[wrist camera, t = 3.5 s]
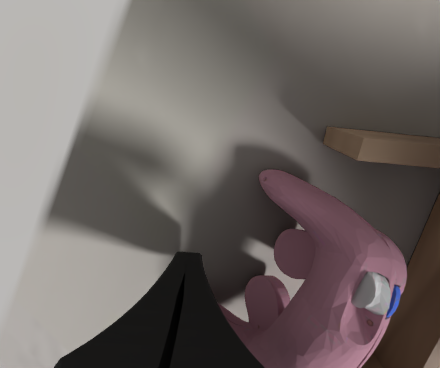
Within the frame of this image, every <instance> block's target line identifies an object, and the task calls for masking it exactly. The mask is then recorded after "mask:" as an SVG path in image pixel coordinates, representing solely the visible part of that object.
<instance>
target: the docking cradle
mask: <svg viewBox="0 0 440 368" xmlns="http://www.w3.org/2000/svg"><path fill="white" fill-rule="evenodd" d="M323 144H324V145H326V146H328V147H330V148H332V149H334V150H336V151H339V152H341V153H343V154H345V155H347V156H349V157H351V158H353V159H355V160H357V161H368V162H378V163H389V164H399V165H410V166H420V167H431V168H440V138H435V137H425V136H415V135H405V134H396V133H386V132H376V131H366V130H356V129H346V128H336V127H327V129H326V133H325V137H324V141H323ZM439 367H440V193H439V195H438V198H437V200H436V202H435V205H434V207H433V209H432V211H431V214H430V216H429V218H428V221H427V223H426V225H425V228H424V230H423V232H422V235H421V237H420V239H419V241H418V244H417V246H416V248H415V251H414V253H413V255H412V258H411V260H410V262H409V265H408V267H407V280H406V285H405V288H404V291H403V293H402V294H401V296H400V301H399V304H398V307H397V309H396V311H395V312H394V313H393V314H392V315H391V318H390V321H389V324H388V326H387V329H386V331H385V333H384V335H383V337H382V339H381V340H380V342H379V344H378V346H377V347H376V349H375V350H374V352H373V353H372V355H371V356H370V357H369V359H368V360H367V361H366V362H365V363H364V365H363V366H362V367H361V368H439Z"/></svg>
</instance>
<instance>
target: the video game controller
mask: <svg viewBox="0 0 440 368" xmlns="http://www.w3.org/2000/svg"><path fill="white" fill-rule="evenodd" d="M259 181H260V184H261V186H262V188H263V190H264V191H265V192H266V194H267V195H268V196H269V198H270V199H271V200H272V201H273V202H275V203H276V204H277V205H278V206H279V207H281V208H282V209H283V210H284V211H285V212H287V213H288V214H289V215H290V216H291V217H293V218H294V219H295V220H296V221H297V222H298V223H299V224H300V225H301V226H302V227H303V228H304V229H305V230H299V229H287V230H285V231H283V232H282V233H281V234H280V235H279V237H278V238H277V240H276V243H275V247H274V258H275V261H276V264H277V266H278V267H279V269H280V270H281V271H282V272H283V273H284V274H286V275H287V276H289V277H291V278H295V279H305V281H304V283H303V284H302V286H301V287H300V288H299V290H298V291H297V293H296V294H295V296H294V297H293V298H292V300H291V301H290V297H289V294H288V291H287V289H286V287H285V286H284V284H283V283H282V282H281V281H280V280H279V279H278V278H276V277H274V276H264V275H261V276H255V277H253V278H252V279H251V280H250V281H249V282H248V284H247V286H246V289H245V302H246V307H247V311H248V317H249V322H245V321H243V320H241V319H240V318H238V317H236V316H235V315H234V314H232V313H231V312H230V311H228V310H227V309H226V308H224V307H223V306H222V305H220V304H219V303H218V305H219V307H220V309H221V311H222V312H223V314H224V316H225V317H226V319H227V321H228V322H229V324H230V325H231V327H232V328H233V330H234V331H235V332H236V334H237V335H238V337H239V338H240V339H241V341H242V342H243V343H244V345H245V346H246V347H247V348H248V349H249V351H250V352H251V353H252V354H253V355H254V356H255V358H256V359H257V360H258V361H259V362H260V363H261V364H262V365H263V366H264V367H265V368H361V367H362V366H363V365H364V363H365V362H366V361H367V360H368V359H369V357H370V356H371V355H372V353H373V352H374V350H375V349H376V347H377V346H378V344H379V342H380V340H381V339H382V337H383V335H384V333H385V331H386V329H387V326H388V324H389V321H390V318H391V315H392V314H393V313H394V312H395V311H396V309H397V307H398V304H399V301H400V296H401V294H402V293H403V291H404V288H405V285H406V280H407V268H406V263H405V260H404V257H403V255H402V253H401V251H400V250H399V248H398V247H397V246H396V245H395V243H394V242H393V241H392V240H391V239H390V238H389V237H388V236H386V235H385V234H384V233H382V232H381V231H379V230H377V229H374V228H373V227H372V226H371V225H370V224H369V223H368V222H367V221H366V220H365V219H363V218H362V217H361V216H360V215H358V214H357V213H356V212H355V211H353V210H352V209H351V208H350V207H348V206H347V205H345V204H344V203H342V202H341V201H339V200H338V199H337V198H335V197H333V196H331V195H330V194H328V193H326V192H324V191H322V190H321V189H319V188H317V187H315V186H313V185H311V184H309V183H307V182H305V181H303V180H301V179H300V178H297V177H295V176H293V175H291V174H289V173H286V172H284V171H281V170H275V169H273V170H271V169H270V170H264V171H262V172H261V173H260V174H259Z"/></svg>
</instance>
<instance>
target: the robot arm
mask: <svg viewBox="0 0 440 368" xmlns="http://www.w3.org/2000/svg"><path fill="white" fill-rule="evenodd" d="M54 368H265V367H264V366H263V365H262V364H261V363H260V362H259V361H258V360H257V359H256V358H255V356H254V355H253V354H252V353H251V352H250V351H249V349H248V348H247V347H246V346H245V345H244V343H243V342H242V341H241V339H240V338H239V337H238V335H237V334H236V332H235V331H234V330H233V328H232V327H231V325H230V324H229V322H228V321H227V319H226V317H225V316H224V314H223V312H222V311H221V309H220V307H219V305H218V303H217V301H216V299H215V297H214V295H213V293H212V290H211V288H210V285H209V283H208V280H207V277H206V274H205V271H204V267H203V263H202V255H201V254H200V253H189V252H177V253H176V254H175V256H174V258H173V259H172V261H171V263H170V264H169V266H168V267H167V268H166V270H165V271H164V272H163V274H162V275H161V276H160V278H159V279H158V280H157V281H156V283H155V284H154V285H153V286H152V287H151V288H150V290H149V291H148V292H147V293H146V294H145V295H144V296H143V297H142V298H141V299H140V300H139V301H138V302H137V303H136V304H135V305H134V306H133V307H132V308H131V309H130V310H128V311H127V312H126V313H125V314H124V315H123V316H122V317H120V318H119V319H118V320H117V321H116V322H114V323H113V324H112V325H110V326H109V327H108V328H106V329H105V330H104V331H102V332H101V333H100V334H98V335H97V336H95V337H94V338H93V339H91V340H90V341H88V342H87V343H85V344H84V345H82V346H80V347H79V348H77V349H75V350H74V351H72V352H71V353H69V354H67V355H66V356H64V357H62V358H60V360H59V361H58V362H57V364H56V365H55V366H54Z"/></svg>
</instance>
